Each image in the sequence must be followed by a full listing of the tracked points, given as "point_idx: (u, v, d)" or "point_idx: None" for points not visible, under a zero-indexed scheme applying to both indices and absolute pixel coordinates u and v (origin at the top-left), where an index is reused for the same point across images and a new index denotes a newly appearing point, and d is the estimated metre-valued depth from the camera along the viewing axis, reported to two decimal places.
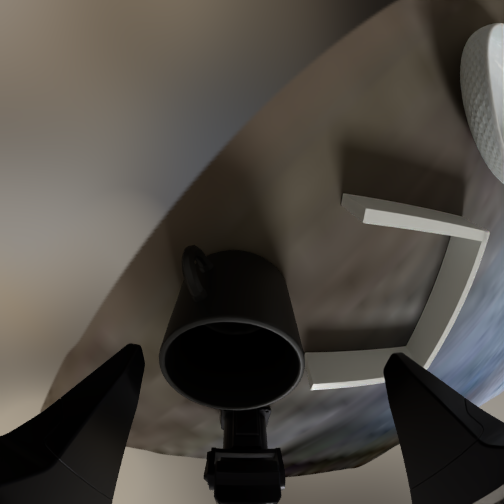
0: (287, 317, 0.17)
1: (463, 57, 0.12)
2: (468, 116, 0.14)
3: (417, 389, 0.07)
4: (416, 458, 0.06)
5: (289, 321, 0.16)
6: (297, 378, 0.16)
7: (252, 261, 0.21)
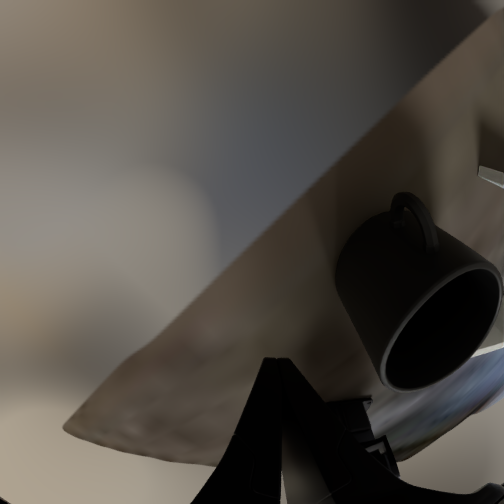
0: None
1: None
2: None
3: (287, 405, 0.06)
4: (290, 486, 0.05)
5: None
6: (486, 335, 0.12)
7: None
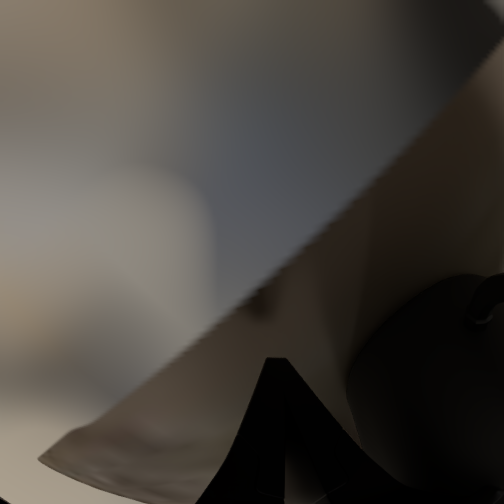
0: None
1: None
2: None
3: None
4: (287, 486, 0.05)
5: None
6: None
7: None
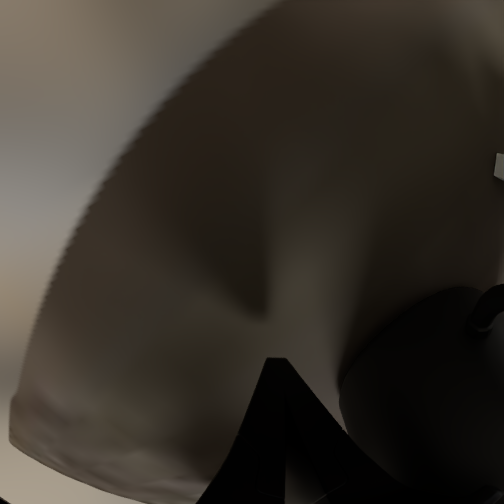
0: None
1: None
2: None
3: None
4: (286, 486, 0.05)
5: None
6: None
7: None
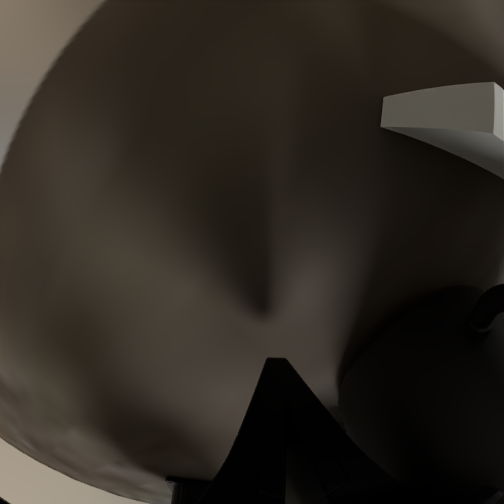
0: None
1: None
2: None
3: None
4: (286, 486, 0.05)
5: None
6: None
7: None
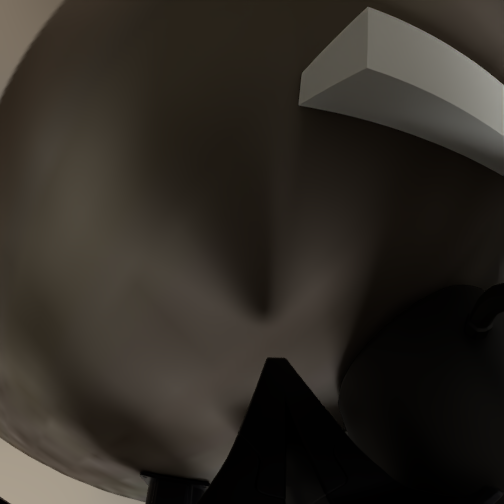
0: None
1: None
2: None
3: None
4: (286, 486, 0.05)
5: None
6: None
7: None
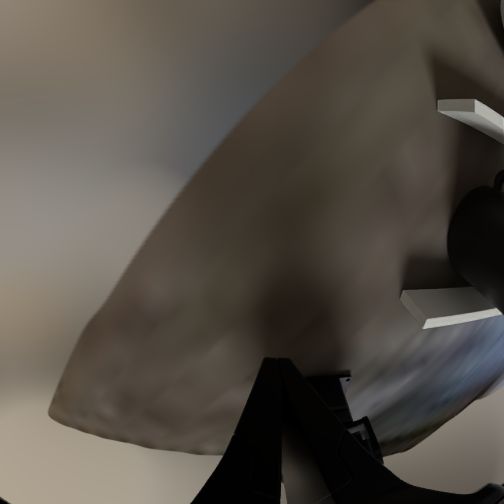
0: None
1: (503, 7, 0.06)
2: None
3: (287, 405, 0.06)
4: (290, 486, 0.05)
5: None
6: None
7: None
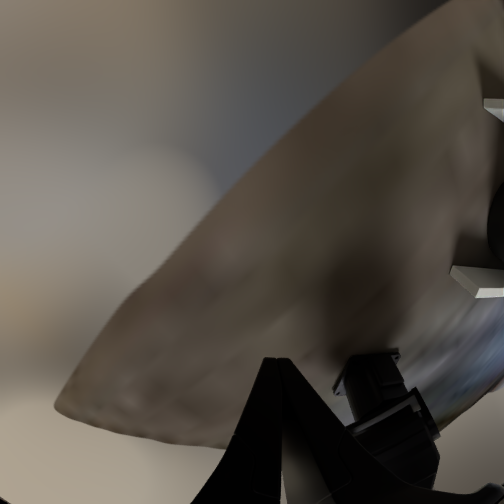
0: None
1: None
2: None
3: (287, 405, 0.06)
4: (290, 486, 0.05)
5: None
6: None
7: None
